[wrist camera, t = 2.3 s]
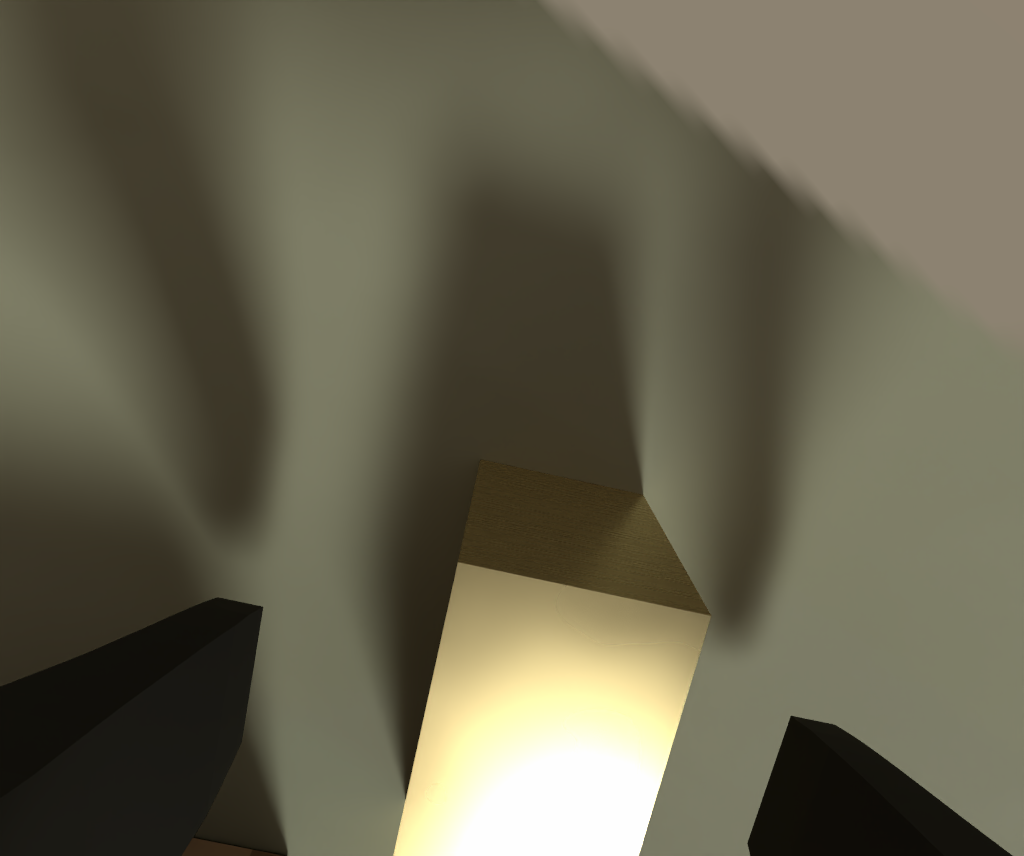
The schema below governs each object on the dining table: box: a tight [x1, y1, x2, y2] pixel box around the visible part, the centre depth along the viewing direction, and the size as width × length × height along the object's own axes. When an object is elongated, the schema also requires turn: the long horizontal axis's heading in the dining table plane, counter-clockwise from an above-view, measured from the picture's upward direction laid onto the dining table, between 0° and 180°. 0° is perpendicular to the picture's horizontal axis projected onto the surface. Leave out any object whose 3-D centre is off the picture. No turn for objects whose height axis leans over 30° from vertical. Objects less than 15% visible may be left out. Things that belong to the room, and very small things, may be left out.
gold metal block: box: [394, 459, 711, 856], centre depth 9 cm, size 2×6×4 cm, turn 167°
